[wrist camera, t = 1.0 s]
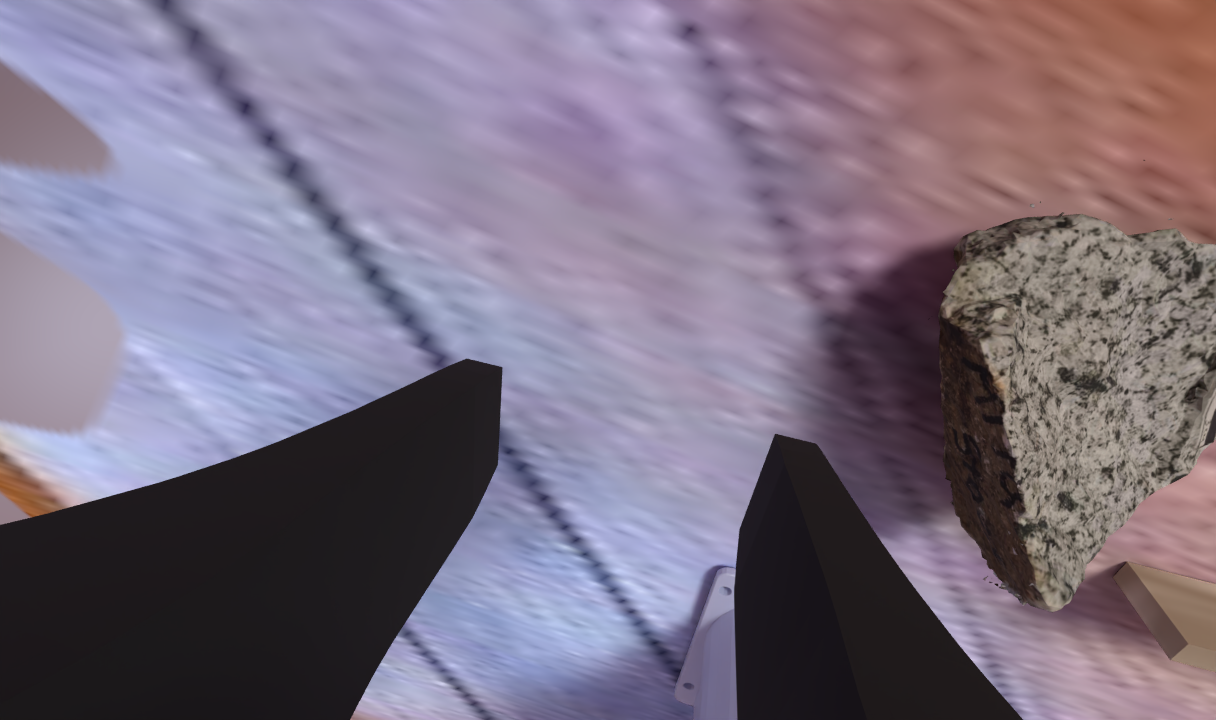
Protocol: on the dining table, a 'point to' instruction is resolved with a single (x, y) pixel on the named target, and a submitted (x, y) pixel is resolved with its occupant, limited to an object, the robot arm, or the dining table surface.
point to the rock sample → (1071, 388)
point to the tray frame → (1174, 612)
